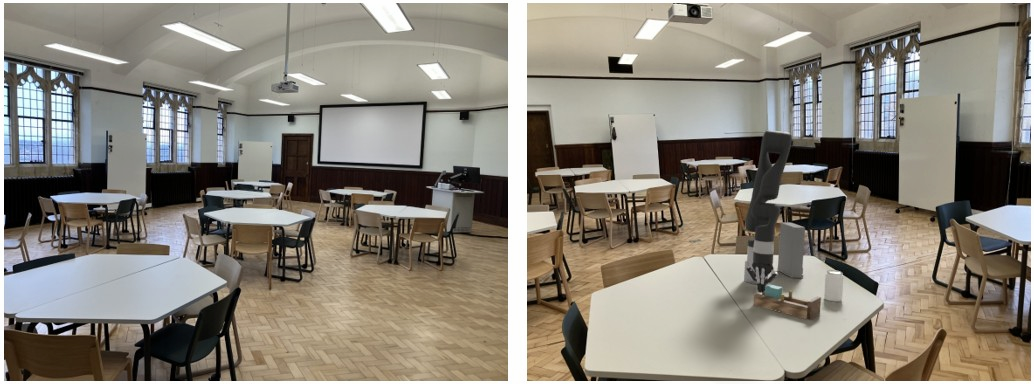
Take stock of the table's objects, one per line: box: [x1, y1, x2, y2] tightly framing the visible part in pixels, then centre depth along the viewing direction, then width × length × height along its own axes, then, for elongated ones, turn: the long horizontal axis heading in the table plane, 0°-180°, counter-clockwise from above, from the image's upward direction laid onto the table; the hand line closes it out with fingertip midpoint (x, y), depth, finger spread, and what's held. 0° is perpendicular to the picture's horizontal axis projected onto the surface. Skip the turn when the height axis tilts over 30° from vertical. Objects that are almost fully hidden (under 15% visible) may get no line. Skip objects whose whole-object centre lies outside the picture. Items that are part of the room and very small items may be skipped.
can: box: [823, 269, 845, 303], centre depth 219 cm, size 6×6×12 cm
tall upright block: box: [776, 221, 806, 279], centre depth 257 cm, size 14×6×25 cm, turn 179°
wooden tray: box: [752, 290, 822, 321], centre depth 208 cm, size 22×9×7 cm, turn 39°
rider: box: [765, 284, 783, 299], centre depth 211 cm, size 5×4×5 cm
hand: (761, 291), depth 215 cm, fingers closed
